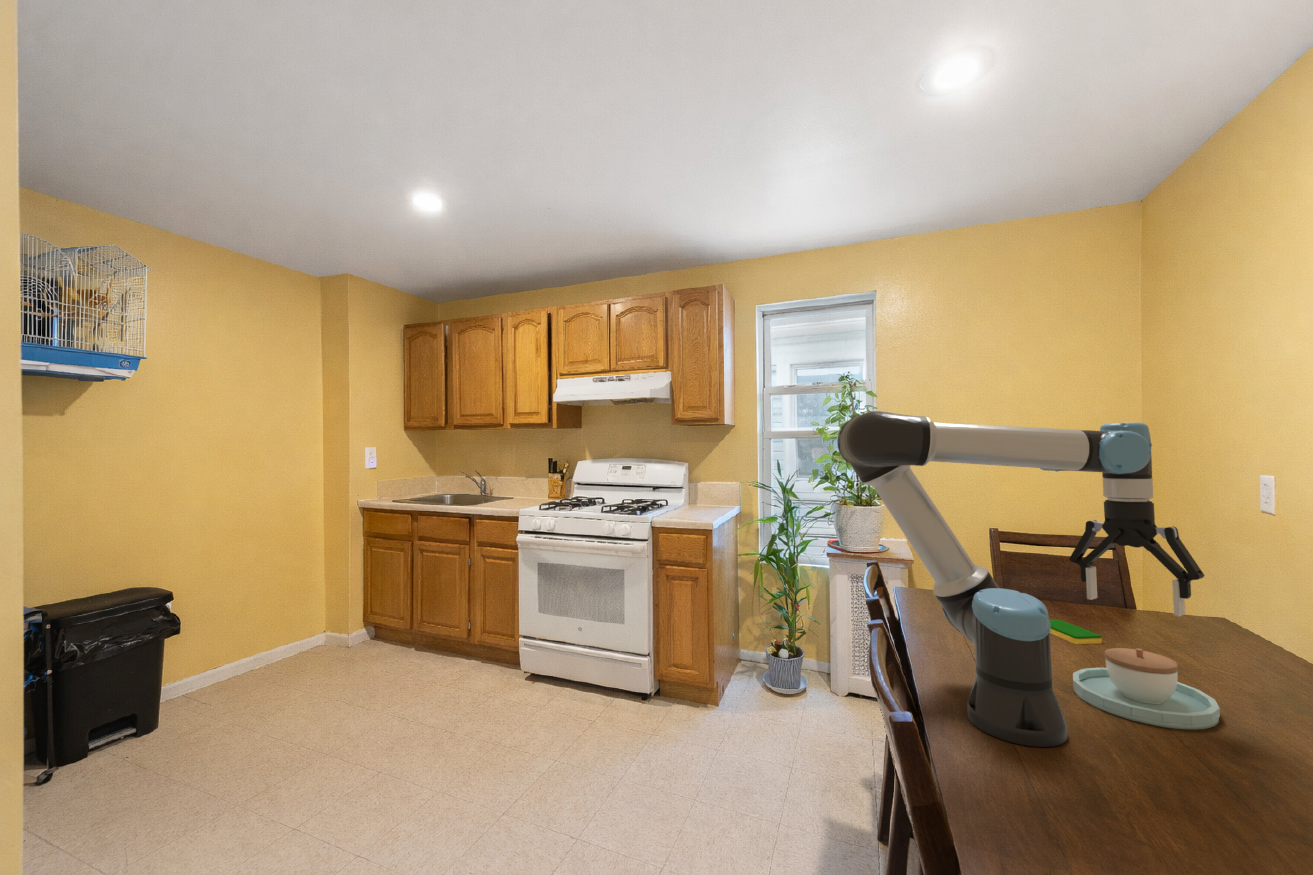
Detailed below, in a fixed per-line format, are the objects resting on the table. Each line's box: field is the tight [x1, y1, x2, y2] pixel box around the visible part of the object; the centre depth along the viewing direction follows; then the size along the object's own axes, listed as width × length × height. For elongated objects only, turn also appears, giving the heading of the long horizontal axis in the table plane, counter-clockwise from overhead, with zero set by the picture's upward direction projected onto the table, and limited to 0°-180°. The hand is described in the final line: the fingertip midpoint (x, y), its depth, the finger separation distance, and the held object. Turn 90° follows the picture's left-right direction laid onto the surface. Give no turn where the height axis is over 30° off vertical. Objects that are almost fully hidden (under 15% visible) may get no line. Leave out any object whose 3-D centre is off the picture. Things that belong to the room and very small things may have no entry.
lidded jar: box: [1104, 647, 1179, 704], centre depth 104 cm, size 11×11×9 cm
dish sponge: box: [1049, 619, 1103, 645], centre depth 142 cm, size 7×14×2 cm, turn 2°
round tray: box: [1072, 667, 1221, 731], centre depth 104 cm, size 21×21×2 cm
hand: (1133, 606), depth 105 cm, fingers open, 13 cm apart
